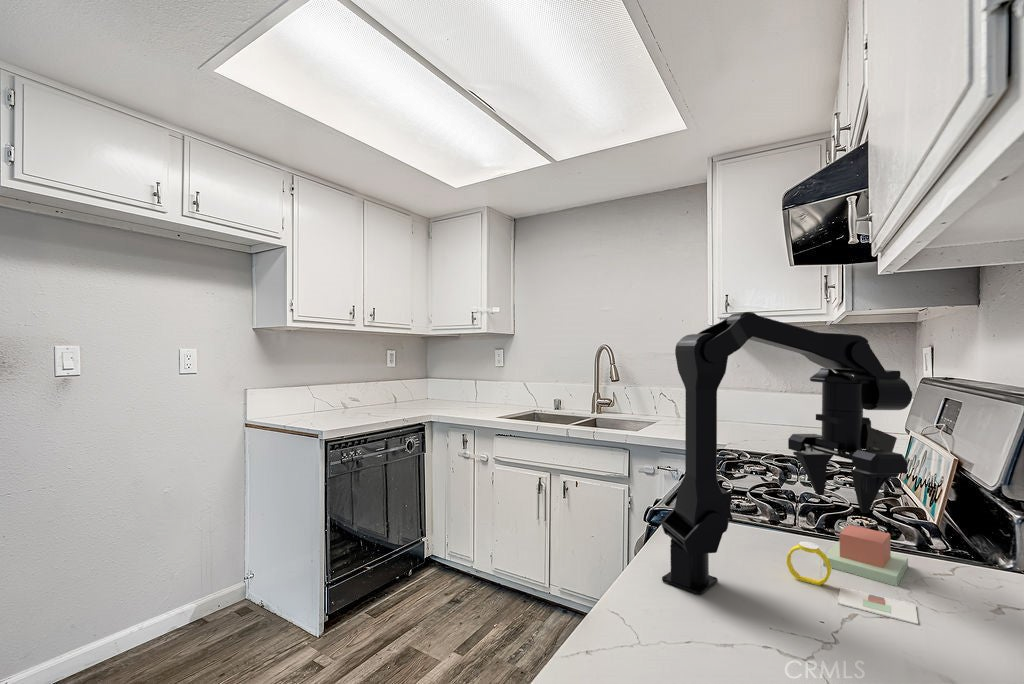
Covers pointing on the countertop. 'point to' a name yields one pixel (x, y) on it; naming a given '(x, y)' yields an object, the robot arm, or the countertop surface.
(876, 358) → the robot arm
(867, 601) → the page
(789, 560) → the watch
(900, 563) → the baseplate
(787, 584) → the countertop surface
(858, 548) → the brick
